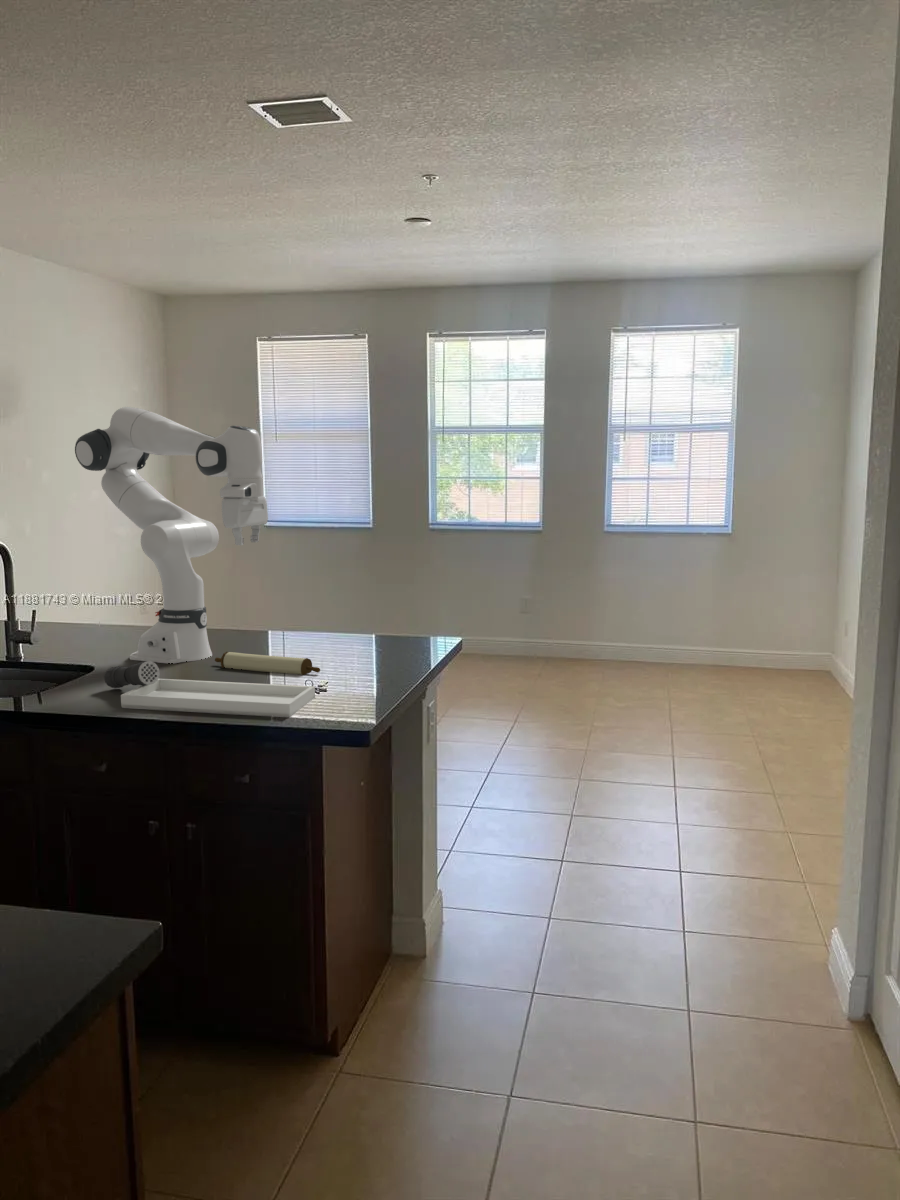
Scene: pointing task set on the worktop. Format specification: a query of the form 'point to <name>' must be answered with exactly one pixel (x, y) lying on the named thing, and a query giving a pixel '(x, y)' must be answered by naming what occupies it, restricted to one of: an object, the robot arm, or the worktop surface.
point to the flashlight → (132, 675)
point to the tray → (219, 697)
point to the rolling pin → (266, 663)
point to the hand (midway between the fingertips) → (247, 543)
